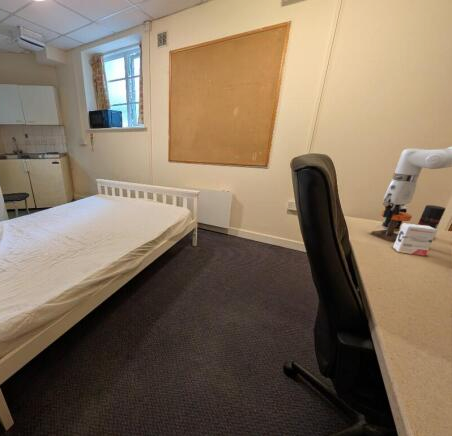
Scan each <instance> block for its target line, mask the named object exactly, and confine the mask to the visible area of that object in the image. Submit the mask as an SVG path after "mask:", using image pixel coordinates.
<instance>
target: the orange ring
mask: <svg viewBox="0 0 452 436" xmlns="http://www.w3.org/2000/svg"><path fill="white" fill-rule="evenodd" d="M384 211H385V209H383V210H382V211H381V214H380V216H382V217H383V214H384ZM412 217H413V215H412V214H410V213H407V212H406V213H404V212H400V211H399V214H398V215H395V214H393V216H392V218H391V219H393V220H399V221H402V222H411V219H412Z"/></svg>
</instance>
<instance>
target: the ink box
mask: <svg viewBox="0 0 452 436" xmlns="http://www.w3.org/2000/svg"><path fill="white" fill-rule="evenodd" d="M437 232H438V230H437V228H436V229H434V228H432V227H430V226H424V225H418V224H414V223H407V222H405V223H404V222H402V224H401V226H400V228H399V232H398V233H397V234H398V236H397V239H396V241H395V242H394V244H393V246H392V248H393V249H394V250H395V251H396V252H397V253H403V254H409V255H415V256H416V255H417V256H423V257H426V255H427V253H428V251H429V249H430V247H431V245H432V242H433V241H434V238H435V237H436V234H437Z"/></svg>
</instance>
